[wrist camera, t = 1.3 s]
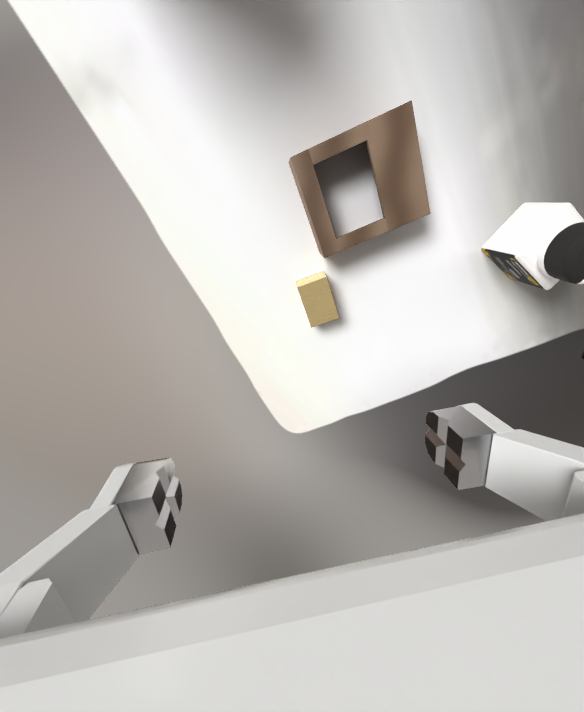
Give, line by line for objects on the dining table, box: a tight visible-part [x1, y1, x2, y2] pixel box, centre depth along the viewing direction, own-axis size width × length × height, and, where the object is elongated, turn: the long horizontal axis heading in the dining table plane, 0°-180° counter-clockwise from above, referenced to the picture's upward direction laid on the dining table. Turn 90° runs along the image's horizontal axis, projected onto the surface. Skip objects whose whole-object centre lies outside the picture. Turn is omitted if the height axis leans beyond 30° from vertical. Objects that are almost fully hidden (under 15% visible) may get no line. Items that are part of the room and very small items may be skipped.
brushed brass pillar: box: [296, 272, 339, 327], centre depth 42 cm, size 4×6×4 cm, turn 20°
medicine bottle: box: [481, 203, 584, 290], centre depth 36 cm, size 7×7×12 cm
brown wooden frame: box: [289, 101, 430, 258], centre depth 35 cm, size 13×11×5 cm
